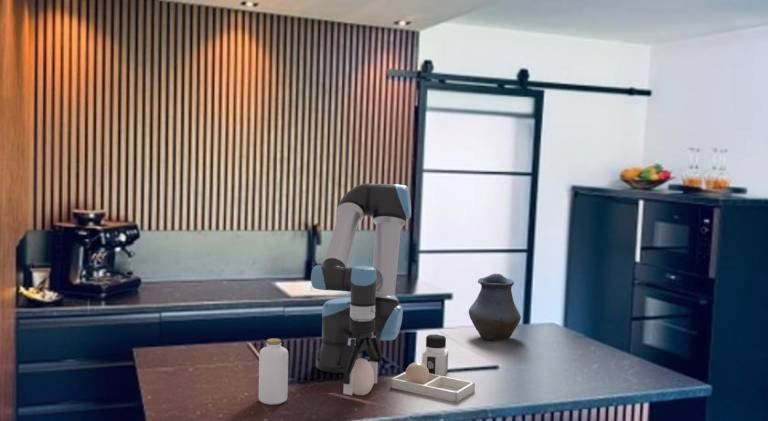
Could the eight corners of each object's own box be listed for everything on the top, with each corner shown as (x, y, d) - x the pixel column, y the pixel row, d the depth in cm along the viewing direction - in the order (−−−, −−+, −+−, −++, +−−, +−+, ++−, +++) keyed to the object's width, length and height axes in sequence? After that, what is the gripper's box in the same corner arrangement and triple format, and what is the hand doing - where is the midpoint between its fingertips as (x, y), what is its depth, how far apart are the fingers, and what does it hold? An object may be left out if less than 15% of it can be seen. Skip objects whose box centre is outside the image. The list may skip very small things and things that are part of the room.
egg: (377, 393, 223) (378, 356, 222) (368, 401, 215) (369, 363, 214) (352, 389, 225) (353, 353, 224) (343, 397, 218) (344, 360, 217)
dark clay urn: (466, 342, 285) (468, 279, 283) (469, 329, 307) (471, 270, 305) (520, 346, 282) (522, 282, 280) (519, 333, 303) (521, 273, 301)
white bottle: (259, 396, 217) (260, 336, 216) (288, 396, 218) (289, 336, 216) (257, 405, 209) (258, 343, 207) (286, 405, 210) (287, 344, 208)
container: (444, 378, 240) (446, 339, 239) (421, 376, 241) (422, 337, 240) (447, 371, 247) (449, 333, 246) (424, 369, 249) (426, 331, 248)
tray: (390, 389, 226) (391, 378, 226) (410, 379, 237) (410, 369, 236) (456, 404, 215) (457, 393, 214) (474, 393, 225) (474, 382, 225)
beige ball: (400, 386, 227) (401, 363, 227) (412, 380, 233) (413, 357, 233) (421, 391, 223) (422, 367, 223) (433, 385, 230) (433, 361, 229)
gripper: (349, 328, 206) (347, 402, 207) (394, 313, 227) (392, 380, 229) (327, 324, 210) (326, 396, 211) (374, 309, 231) (372, 375, 233)
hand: (360, 388), depth 220 cm, fingers open, 13 cm apart
